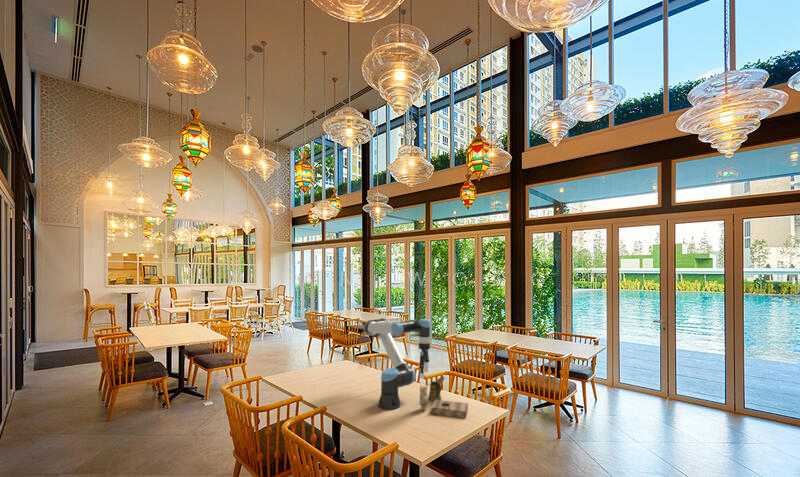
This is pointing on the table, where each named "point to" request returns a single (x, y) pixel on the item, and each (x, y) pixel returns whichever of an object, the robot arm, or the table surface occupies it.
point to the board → (449, 408)
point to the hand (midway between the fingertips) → (424, 374)
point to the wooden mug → (435, 390)
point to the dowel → (423, 397)
